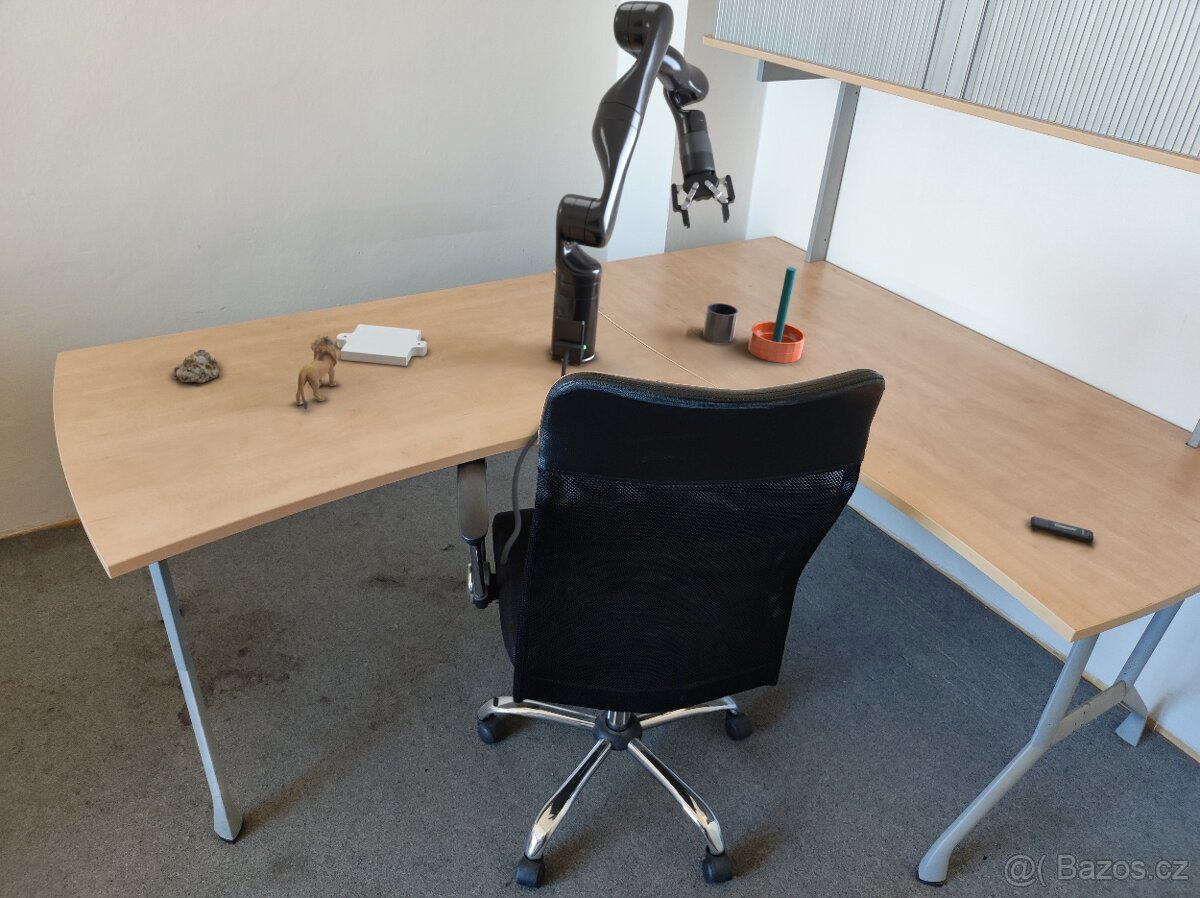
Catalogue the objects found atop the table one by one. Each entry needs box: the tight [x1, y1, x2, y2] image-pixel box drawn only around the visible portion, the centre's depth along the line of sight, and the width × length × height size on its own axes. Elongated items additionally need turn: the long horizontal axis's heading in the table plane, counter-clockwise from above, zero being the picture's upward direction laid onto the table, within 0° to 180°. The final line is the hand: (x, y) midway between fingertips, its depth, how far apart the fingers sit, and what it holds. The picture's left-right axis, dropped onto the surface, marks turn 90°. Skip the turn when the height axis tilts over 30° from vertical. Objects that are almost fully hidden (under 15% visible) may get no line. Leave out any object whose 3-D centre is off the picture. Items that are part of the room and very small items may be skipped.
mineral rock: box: [173, 349, 220, 384], centre depth 165 cm, size 11×4×8 cm
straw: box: [772, 266, 797, 343], centre depth 190 cm, size 2×2×19 cm
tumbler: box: [702, 302, 739, 344], centre depth 198 cm, size 7×7×7 cm
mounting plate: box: [336, 323, 428, 367], centre depth 180 cm, size 18×13×2 cm
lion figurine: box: [295, 334, 338, 410], centre depth 161 cm, size 15×5×9 cm, turn 179°
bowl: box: [747, 320, 806, 364], centre depth 194 cm, size 12×12×5 cm
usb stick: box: [1030, 515, 1095, 543], centre depth 145 cm, size 10×3×2 cm, turn 70°
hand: (707, 224), depth 203 cm, fingers open, 8 cm apart
